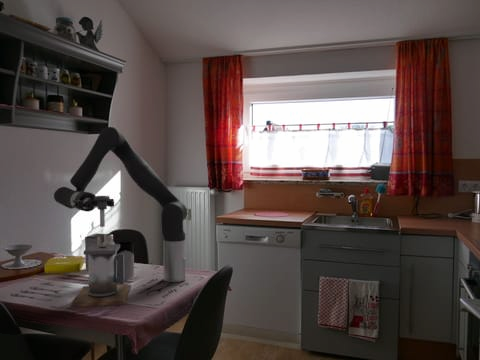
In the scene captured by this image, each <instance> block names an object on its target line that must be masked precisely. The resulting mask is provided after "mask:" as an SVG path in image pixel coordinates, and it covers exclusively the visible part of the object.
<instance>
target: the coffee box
mask: <svg viewBox="0 0 480 360" xmlns="http://www.w3.org/2000/svg"><path fill="white" fill-rule="evenodd" d="M105 234H106V233H93V234H91V235H88V236H85V237H84V247H85V248H84V250H86V249H87V248H88V247H89V246H90V245H100V244H102V243H103V242H104V235H105ZM84 257H85V272H88V273H89V265H88V255H84Z"/></svg>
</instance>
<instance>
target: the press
mask: <svg viewBox="0 0 480 360" xmlns="http://www.w3.org/2000/svg"><path fill="white" fill-rule="evenodd" d="M119 248H120V244H116V243H115V244H100V245H90V246H89V247H88V248H87V249H86V250H85V249H84V250H83V256H85V255H88V265H89V272H88V286H89V290H88V296H90V297H93V298H105V297H110V296H113V295H115V294H117V293H118V288H117V285H125V281H124V253H121V254H117V251H118V250H119ZM117 260H119V278H117Z"/></svg>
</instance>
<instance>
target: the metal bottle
mask: <svg viewBox="0 0 480 360" xmlns="http://www.w3.org/2000/svg"><path fill="white" fill-rule="evenodd" d="M104 234H105V235H104V242H103V243H102V244H116V243H115V241H114V234H112V233H104Z"/></svg>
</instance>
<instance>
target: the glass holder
mask: <svg viewBox="0 0 480 360" xmlns="http://www.w3.org/2000/svg"><path fill="white" fill-rule="evenodd" d="M115 244H120V248H119V250H118V251H117V254H121V253H124V282H126V281H130V280H134V279H135V278H136V275H135V253H134V242H133V241H120V242H119V241H118V242H116V243H115ZM117 278H119V260H117ZM133 278H134V279H133Z"/></svg>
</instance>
